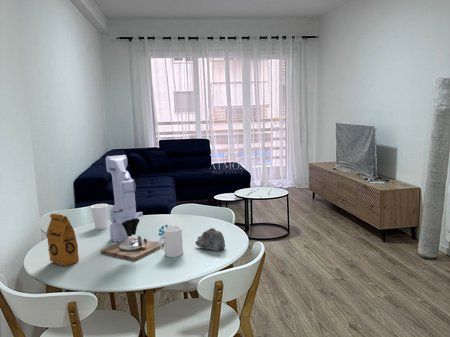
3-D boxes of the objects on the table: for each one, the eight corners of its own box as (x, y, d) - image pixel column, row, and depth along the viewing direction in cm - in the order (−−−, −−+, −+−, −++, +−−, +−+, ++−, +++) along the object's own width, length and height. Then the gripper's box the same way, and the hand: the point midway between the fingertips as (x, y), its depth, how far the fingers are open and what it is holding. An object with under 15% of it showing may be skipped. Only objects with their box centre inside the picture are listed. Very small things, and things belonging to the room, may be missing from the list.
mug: (165, 260, 173) (163, 234, 171) (155, 255, 179) (153, 230, 178) (187, 253, 181) (185, 228, 179) (176, 249, 187) (175, 224, 185)
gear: (161, 242, 193) (157, 224, 198) (157, 247, 197) (154, 230, 202) (182, 240, 198) (178, 223, 204) (178, 246, 202) (174, 229, 208)
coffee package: (62, 269, 168) (56, 219, 165) (47, 263, 176) (41, 215, 172) (82, 261, 176) (78, 213, 173) (67, 255, 184) (62, 210, 180)
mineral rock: (194, 247, 189) (193, 227, 187) (213, 242, 195) (212, 222, 193) (208, 254, 178) (207, 233, 177) (228, 249, 184) (227, 228, 183)
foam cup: (92, 226, 229) (90, 205, 227) (108, 224, 233) (106, 202, 231) (94, 231, 220) (91, 208, 218) (110, 228, 224) (109, 206, 222)
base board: (100, 253, 185) (99, 245, 185) (130, 240, 202) (130, 233, 202) (134, 260, 174) (134, 253, 174) (164, 246, 191) (163, 239, 190)
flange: (114, 248, 186) (113, 236, 185) (132, 240, 196) (131, 229, 195) (136, 252, 179) (135, 240, 178) (153, 244, 189) (152, 233, 188)
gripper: (123, 211, 170) (126, 241, 172) (146, 203, 182) (148, 231, 184) (112, 209, 173) (114, 239, 175) (135, 202, 186) (137, 230, 188)
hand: (131, 235), depth 180 cm, fingers closed
